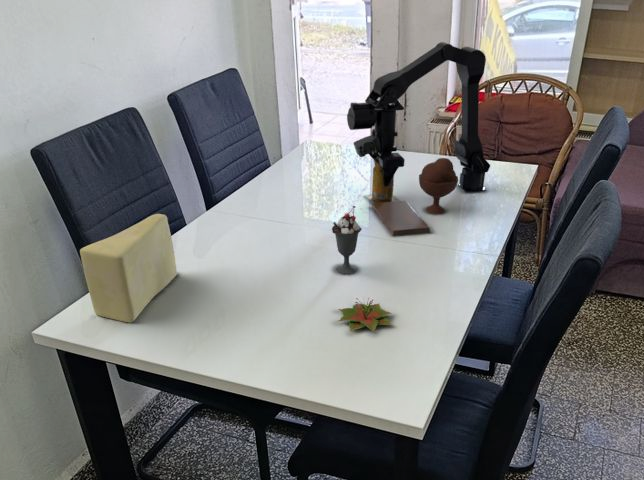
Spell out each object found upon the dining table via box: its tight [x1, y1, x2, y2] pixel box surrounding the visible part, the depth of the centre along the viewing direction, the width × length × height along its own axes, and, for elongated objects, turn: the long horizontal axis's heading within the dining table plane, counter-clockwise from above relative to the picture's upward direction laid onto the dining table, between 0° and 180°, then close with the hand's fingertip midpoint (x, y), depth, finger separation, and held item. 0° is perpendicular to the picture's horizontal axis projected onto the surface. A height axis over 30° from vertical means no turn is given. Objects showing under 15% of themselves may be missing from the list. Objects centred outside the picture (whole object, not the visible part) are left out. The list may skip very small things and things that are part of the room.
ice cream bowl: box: [418, 157, 459, 215], centre depth 179 cm, size 11×11×15 cm
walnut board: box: [371, 200, 431, 237], centre depth 176 cm, size 10×20×2 cm, turn 15°
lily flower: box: [337, 295, 394, 333], centre depth 130 cm, size 12×12×5 cm
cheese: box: [79, 213, 178, 323], centre depth 134 cm, size 22×10×15 cm, turn 159°
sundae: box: [331, 205, 363, 275], centre depth 147 cm, size 7×7×15 cm
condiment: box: [365, 156, 398, 203], centre depth 185 cm, size 7×8×12 cm
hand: (382, 182), depth 187 cm, fingers closed on condiment, 6 cm apart
